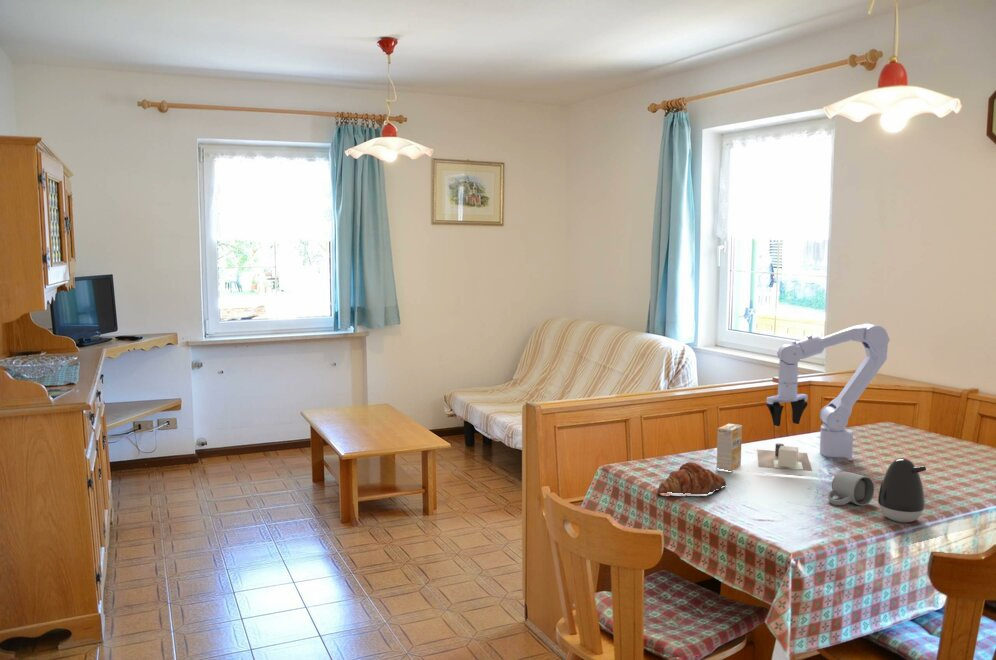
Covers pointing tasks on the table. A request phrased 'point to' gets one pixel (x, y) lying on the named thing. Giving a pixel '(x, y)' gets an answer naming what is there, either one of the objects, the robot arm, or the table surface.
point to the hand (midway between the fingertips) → (786, 424)
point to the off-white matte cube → (788, 456)
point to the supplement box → (729, 446)
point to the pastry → (692, 480)
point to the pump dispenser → (902, 491)
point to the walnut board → (771, 459)
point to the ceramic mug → (851, 489)
